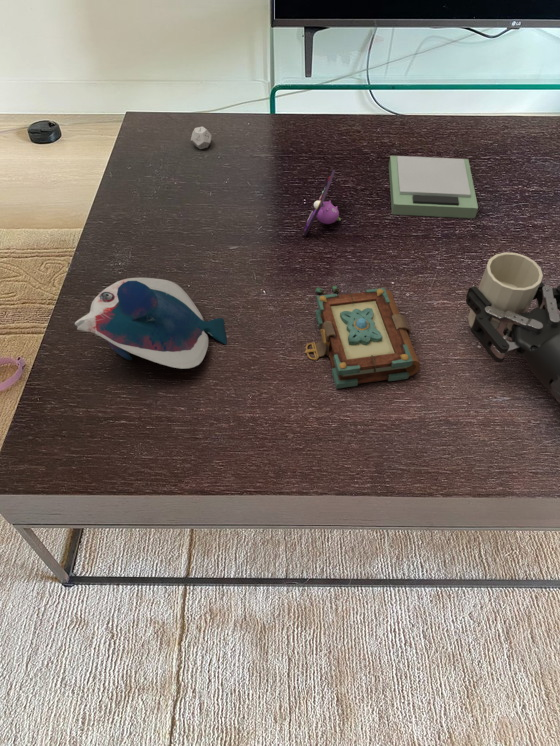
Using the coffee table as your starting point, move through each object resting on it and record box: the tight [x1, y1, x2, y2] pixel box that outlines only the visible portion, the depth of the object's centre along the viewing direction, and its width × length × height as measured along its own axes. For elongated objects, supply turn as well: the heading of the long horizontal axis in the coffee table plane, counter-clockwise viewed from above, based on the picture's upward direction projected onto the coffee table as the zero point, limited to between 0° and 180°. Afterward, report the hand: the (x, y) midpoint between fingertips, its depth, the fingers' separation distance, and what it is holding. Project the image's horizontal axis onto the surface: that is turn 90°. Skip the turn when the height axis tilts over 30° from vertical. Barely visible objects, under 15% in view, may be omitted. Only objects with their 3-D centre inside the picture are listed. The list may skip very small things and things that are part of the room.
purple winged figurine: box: [302, 168, 342, 237], centre depth 94 cm, size 7×5×9 cm
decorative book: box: [304, 285, 421, 389], centre depth 80 cm, size 13×18×5 cm
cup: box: [467, 251, 544, 330], centre depth 80 cm, size 7×7×10 cm
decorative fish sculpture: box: [74, 277, 228, 370], centre depth 78 cm, size 20×12×15 cm
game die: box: [190, 125, 213, 150], centre depth 108 cm, size 4×4×3 cm
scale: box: [388, 155, 479, 219], centre depth 100 cm, size 13×13×3 cm
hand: (495, 283), depth 80 cm, fingers open, 7 cm apart
